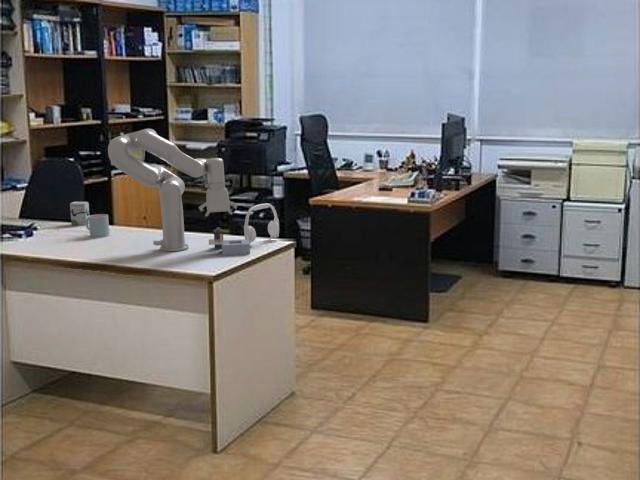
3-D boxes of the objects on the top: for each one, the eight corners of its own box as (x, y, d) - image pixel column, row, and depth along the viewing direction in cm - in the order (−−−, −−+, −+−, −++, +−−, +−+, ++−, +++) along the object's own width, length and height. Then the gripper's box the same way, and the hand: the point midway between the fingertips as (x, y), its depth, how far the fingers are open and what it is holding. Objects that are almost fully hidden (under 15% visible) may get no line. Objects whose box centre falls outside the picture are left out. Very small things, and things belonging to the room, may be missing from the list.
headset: (251, 246, 374) (249, 207, 370) (240, 244, 379) (239, 206, 375) (282, 239, 388) (281, 201, 385) (272, 237, 393) (270, 200, 389)
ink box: (71, 225, 436) (69, 203, 434) (75, 223, 441) (73, 201, 439) (86, 225, 435) (84, 203, 432) (90, 223, 440) (88, 201, 437)
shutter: (208, 244, 357) (208, 237, 356) (208, 241, 364) (208, 233, 364) (222, 244, 358) (222, 236, 357) (222, 240, 365) (222, 233, 365)
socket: (222, 255, 357) (221, 245, 357) (221, 250, 367) (221, 240, 366) (250, 253, 359) (249, 243, 358) (248, 249, 369) (248, 239, 368)
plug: (214, 249, 371) (213, 228, 369) (214, 247, 375) (213, 227, 373) (223, 248, 371) (222, 228, 369) (223, 246, 375) (222, 226, 373)
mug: (113, 234, 408) (112, 215, 406) (99, 238, 400) (97, 218, 398) (94, 232, 415) (92, 212, 413) (79, 235, 407) (78, 215, 405)
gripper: (197, 188, 362) (200, 226, 366) (236, 185, 365) (239, 223, 368) (197, 186, 370) (200, 223, 373) (235, 183, 372) (238, 220, 375)
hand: (219, 223), depth 371 cm, fingers open, 9 cm apart
